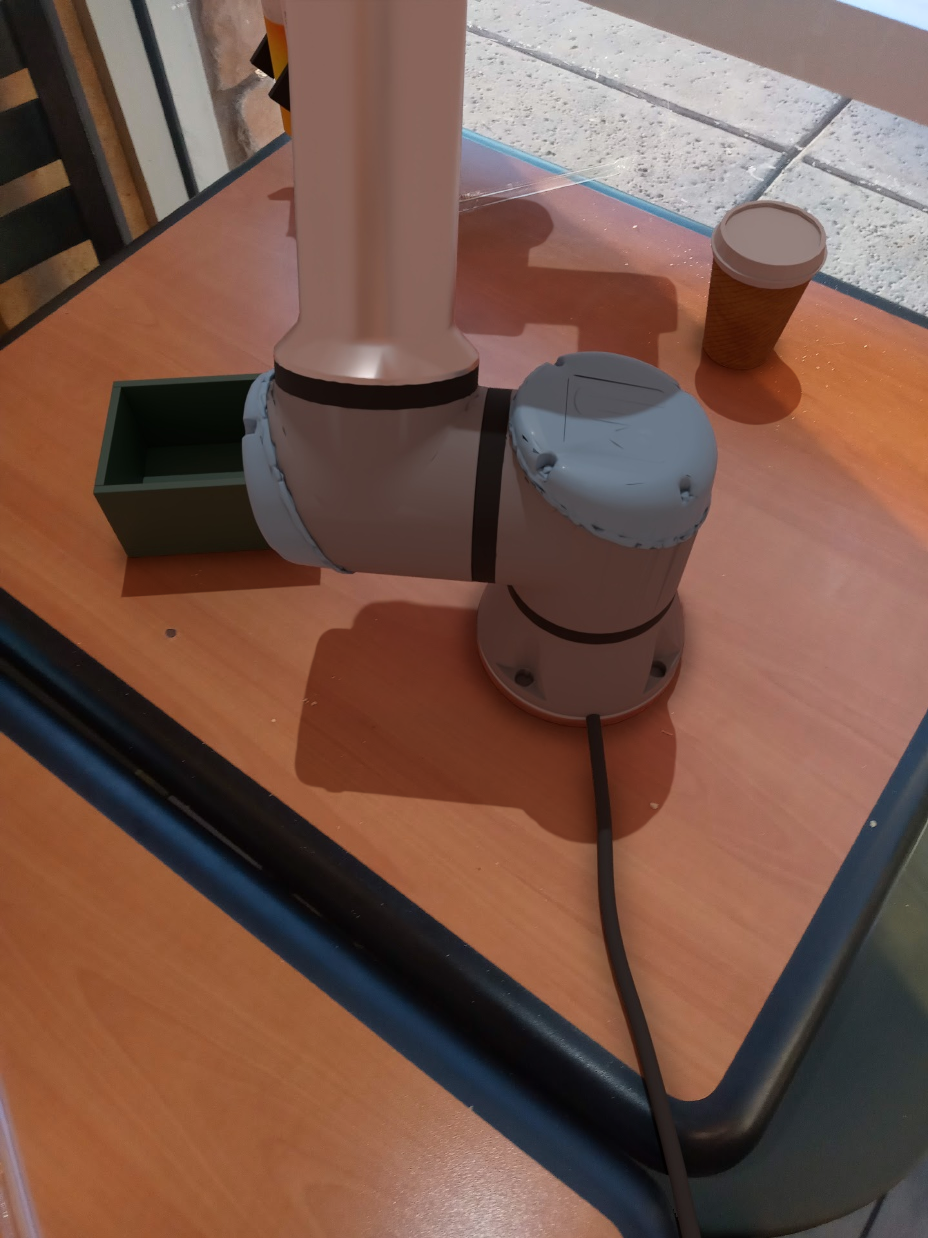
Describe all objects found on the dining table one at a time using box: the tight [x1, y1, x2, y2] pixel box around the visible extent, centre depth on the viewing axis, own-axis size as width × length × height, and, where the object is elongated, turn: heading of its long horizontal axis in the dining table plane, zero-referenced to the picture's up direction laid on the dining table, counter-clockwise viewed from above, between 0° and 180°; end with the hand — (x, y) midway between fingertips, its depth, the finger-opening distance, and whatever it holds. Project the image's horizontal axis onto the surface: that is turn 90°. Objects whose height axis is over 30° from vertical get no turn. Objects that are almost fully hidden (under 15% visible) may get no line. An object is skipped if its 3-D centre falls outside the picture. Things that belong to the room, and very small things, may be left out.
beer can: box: [260, 0, 292, 139], centre depth 88 cm, size 6×6×15 cm
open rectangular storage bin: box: [92, 372, 274, 558], centre depth 72 cm, size 11×15×8 cm
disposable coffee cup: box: [702, 199, 829, 370], centre depth 79 cm, size 10×10×12 cm
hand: (271, 86), depth 90 cm, fingers closed on beer can, 6 cm apart
